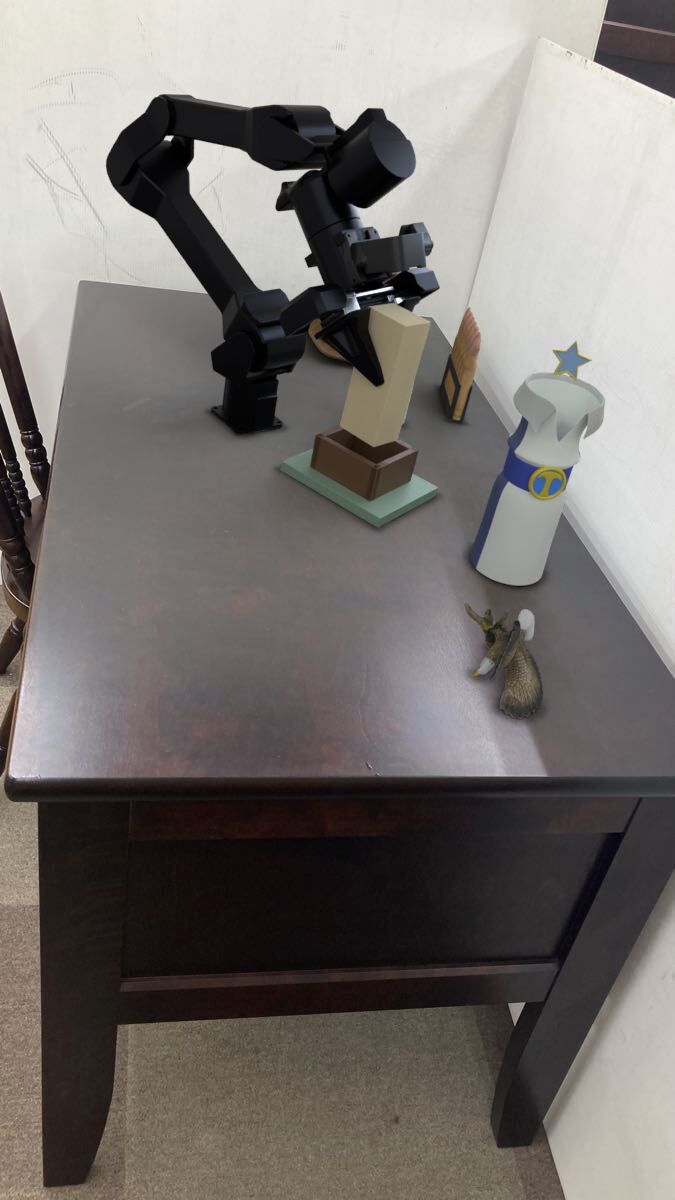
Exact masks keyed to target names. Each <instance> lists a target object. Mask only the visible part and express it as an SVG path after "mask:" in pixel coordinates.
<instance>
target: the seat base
mask: <svg viewBox="0 0 675 1200" xmlns="http://www.w3.org/2000/svg"><path fill="white" fill-rule="evenodd" d="M418 454H419V448H416V447H414V446H413V445H410V444H409V443H408V442H405V441H403V440H401V439H399V438H398V440H396V441H393V442H390V443H386V444H383V445H380V446H376V447H372V446H371V445H369V444H367V443H366V442H364V441H363V440H361V439H359V438H358V437H356V436H355V435H353V434H351V433H350V432H348V431H347V430H345V429H343V428H342V427H340V424H339V425H337V426H334V427H332V428H330V429H327V430H324V431H322V432H320V433H316V434H315V437H314V443H313V447H312V448H310V449H307V450H304V451H302V452H300V453H298V454H295V455H293V456H290V457H288V458H285V459H283V460H281V462H280V468H279V470H280V471H281V472H283V473H285V474H286V475H288V476H289V477H291V478H293V479H294V480H296V481H298V482H300V483H301V484H303V485H304V486H307V488H310V489H311V490H313V491H315V492H317V493H318V494H320V495H321V496H322V497H325V498H326V499H328V500H329V501H332V502H333V503H335V504H337V505H338V506H340V507H342V508H343V509H345V510H347V511H348V512H350V513H352V514H354V515H355V516H357V517H359V518H360V519H362V520H363V521H366V522H367V523H368V524H371V525H372V526H373V527H375V528H377V529H379V528H380V527H382V526H384V525H386V524H388V523H390V522H391V521H393V520H395V519H397V518H399V517H401V516H402V515H404V514H406V513H408V512H410V511H412V510H413V509H416V508H417V507H420V506H421V505H423V504H424V503H426V502H428V501H430V500H432V499H433V498H435V497H437V493H438V490H439V487H438V486H436V485H434V484H433V483H431V482H429V481H427V480H425V479H423V478H421V477H420V476H418V475H416V474H414V470H415V466H416V462H417V458H418Z"/></svg>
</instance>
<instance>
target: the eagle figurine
mask: <svg viewBox="0 0 675 1200" xmlns="http://www.w3.org/2000/svg"><path fill="white" fill-rule="evenodd" d="M464 609H465V611H466V614H467V615H468V616H469V617H470V619H472V620H473V621H474V622H475V623H477V625H478V626H479V627H480V628H481V629H482V632H483V634H484V638H485V640H484V641H485V643H486V646H487V647H488V648H489V649H488V650H487V652H486V655H485V656H484V658H483V659H482V661H481V662H480V664H479V665H478V667H477V669H476V671H475V672H473V673H472V676H473V677H478V676H480V675H481V676H483V675H487V673H489V672H490V671H491V670H492V669H493V671H492V673H491V674H490V677H489V680H490V681H493V680H494V679H495V678H496V677H497V674H498V672H499V671H500V670H502V669H504V672H505V675H504V688H503V691H502V693H501V696H500V700H499V704H498V708H499V709H500V710H503V712H504V713H505V714H506V715H510V717H511V718H512V719H515V720H516V719H518V720H523V719H524V717H526V718H528V717H530V716H531V714H532V713H536V711H537V709H539V708H540V706H541V705H542V701H543V695H544V690H543V682H542V676H541V673H540V669H539V666H538V665H537V662H536V660H535V658H534V657H533V655H532V653H531V652H530V650H529V649H528V648H527V647H526V645H525V642H529V641H532V640H533V638H534V635H535V625H536V619H535V615H534V613H533V612H532V611H531V610H530V609H527V608H523V609H521V610H520V611H519V613H518V616H517V618H516V620H514V621H513V622H512V628H511V629H510V630H508V626H504V625H505V624H507V623H508V617H509V611H508V609H506V610H505V611H504V613H503V615H502V616H501V618H500V619H498V620H497V621H496V622H495V623H494V615H493V609H492V608H487V609H486V610H485V611H484V613H483V617H481V616H480V614H478V613H477V612H475V611H474V610H473V608H472V606H471V605H470V604H469V603H467V602H465V603H464Z"/></svg>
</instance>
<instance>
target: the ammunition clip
mask: <svg viewBox="0 0 675 1200" xmlns="http://www.w3.org/2000/svg"><path fill="white" fill-rule="evenodd" d="M477 323H478V322H477V321H476V317H474V315H473V312H472V309H471V307H470V306H469V307H468V308H467V309H466V311H465V312H464V314H463V316H462V319H461V322H460V325H459V328H458V331H457V333H456V335H455V338H454V341H453V345H452V349H451V353H449V354H448V357H447V360H446V364H445V368H444V372H443V376H442V380H441V383H440V386H439V388H440V393H441V396H442V400H443V403H444V404H443V405H444V409H445V411H446V414H447V419H448V421H449V422H454V423H461V424H462V423H464V420H465V417H466V412H467V409H468V405H469V402H470V399H471V394H472V391H473V387H474V386H473V381H474V377H475V374H476V370H477V366H478V359H479V353H480V350H481V343H482V334H481V331H480V328H479V326H478V325H477Z"/></svg>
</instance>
